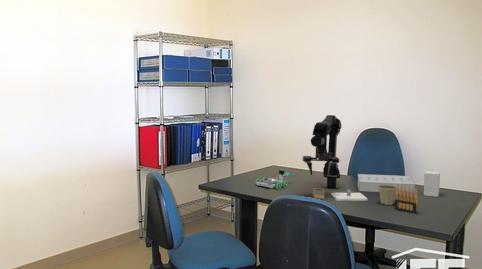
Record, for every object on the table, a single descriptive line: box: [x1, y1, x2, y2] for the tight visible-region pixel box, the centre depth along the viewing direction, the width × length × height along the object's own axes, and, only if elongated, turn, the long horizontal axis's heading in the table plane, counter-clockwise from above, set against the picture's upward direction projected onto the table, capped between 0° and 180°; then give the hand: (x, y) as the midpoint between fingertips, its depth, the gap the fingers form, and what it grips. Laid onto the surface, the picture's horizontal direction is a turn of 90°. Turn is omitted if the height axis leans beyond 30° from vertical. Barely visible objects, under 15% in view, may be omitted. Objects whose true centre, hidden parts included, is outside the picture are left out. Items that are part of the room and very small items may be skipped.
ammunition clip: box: [393, 185, 419, 215], centre depth 197 cm, size 11×2×12 cm, turn 44°
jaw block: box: [312, 187, 326, 199], centre depth 225 cm, size 7×5×4 cm
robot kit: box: [254, 168, 295, 190], centre depth 253 cm, size 19×25×9 cm
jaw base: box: [330, 189, 368, 202], centre depth 223 cm, size 13×16×4 cm
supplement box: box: [423, 170, 441, 197], centre depth 229 cm, size 7×7×13 cm
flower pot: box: [378, 185, 397, 206], centre depth 211 cm, size 9×9×9 cm
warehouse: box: [357, 173, 416, 194], centre depth 242 cm, size 30×14×8 cm, turn 78°
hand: (320, 175), depth 223 cm, fingers open, 9 cm apart
